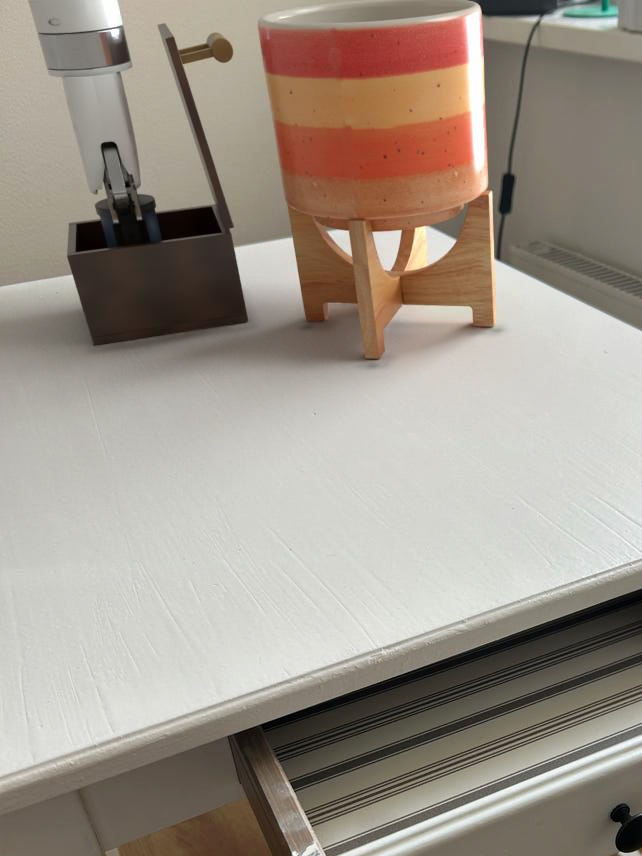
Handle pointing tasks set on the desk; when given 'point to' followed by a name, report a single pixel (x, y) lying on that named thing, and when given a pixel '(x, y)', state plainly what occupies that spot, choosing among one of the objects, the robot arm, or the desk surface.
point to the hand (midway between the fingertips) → (137, 254)
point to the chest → (158, 277)
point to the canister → (147, 213)
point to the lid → (222, 53)
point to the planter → (383, 152)
